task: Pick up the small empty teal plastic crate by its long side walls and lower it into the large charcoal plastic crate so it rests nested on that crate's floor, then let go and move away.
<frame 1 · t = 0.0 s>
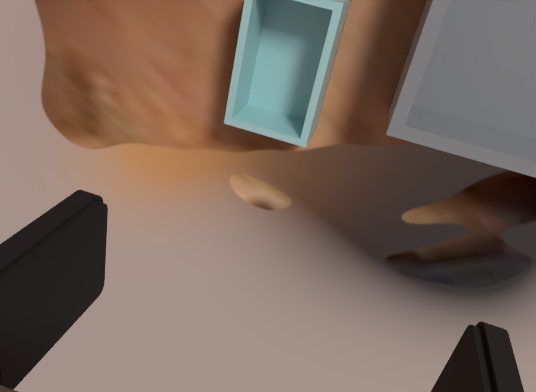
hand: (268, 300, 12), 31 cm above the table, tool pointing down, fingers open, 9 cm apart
small crate: (292, 56, 40), on the table
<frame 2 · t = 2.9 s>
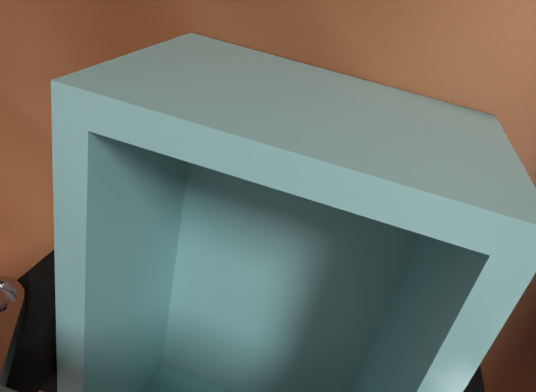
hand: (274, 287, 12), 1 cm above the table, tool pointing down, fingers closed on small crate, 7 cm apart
small crate: (282, 265, 13), on the table, touching gripper
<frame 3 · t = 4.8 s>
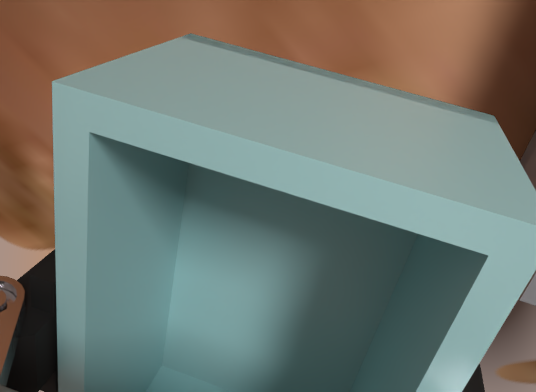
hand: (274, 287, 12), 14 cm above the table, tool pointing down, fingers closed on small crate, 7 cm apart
small crate: (283, 265, 13), point 13 cm above the table, touching gripper
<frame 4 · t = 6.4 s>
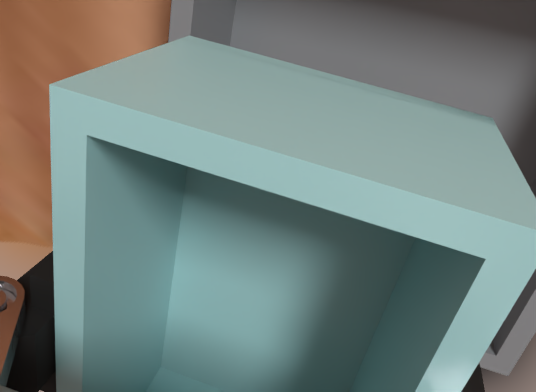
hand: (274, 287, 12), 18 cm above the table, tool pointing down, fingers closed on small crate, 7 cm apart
large crate: (380, 105, 27), on the table
small crate: (281, 267, 13), point 17 cm above the table, touching gripper
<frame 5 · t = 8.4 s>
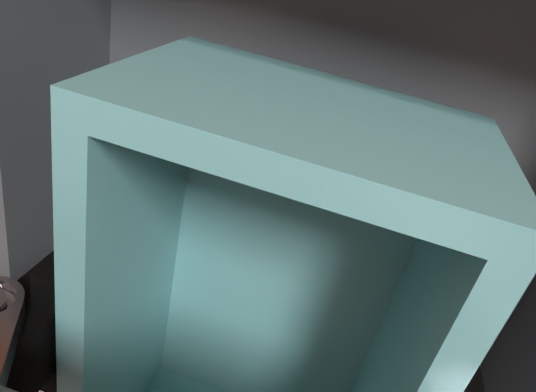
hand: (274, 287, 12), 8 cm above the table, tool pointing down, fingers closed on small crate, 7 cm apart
large crate: (321, 161, 19), on the table
small crate: (282, 267, 13), point 7 cm above the table, touching gripper
when the fingers open (4 cm above the table, at t = 10.2 s): small crate drops 2 cm, resting on large crate.
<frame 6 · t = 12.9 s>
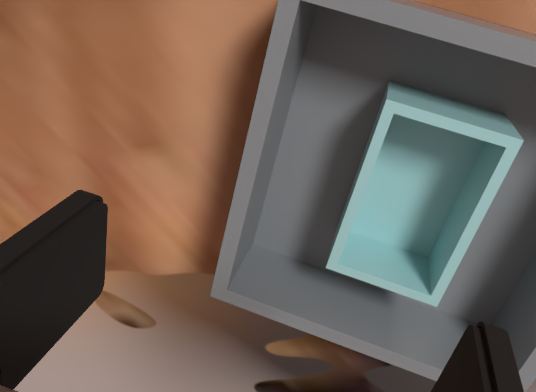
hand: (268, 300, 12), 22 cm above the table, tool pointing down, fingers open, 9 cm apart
large crate: (412, 172, 32), on the table
small crate: (412, 177, 31), point 1 cm above the table, touching large crate
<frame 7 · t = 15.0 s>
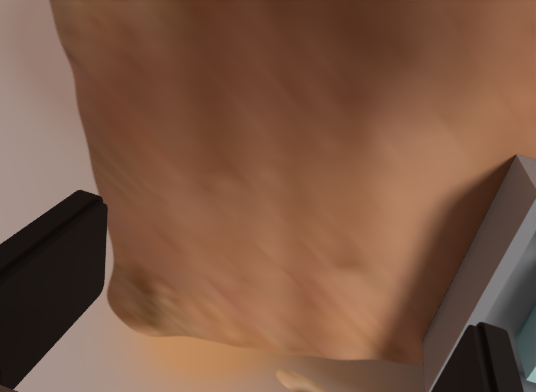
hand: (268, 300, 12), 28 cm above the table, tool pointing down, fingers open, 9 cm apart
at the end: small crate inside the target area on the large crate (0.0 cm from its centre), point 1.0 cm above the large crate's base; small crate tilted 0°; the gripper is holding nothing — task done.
